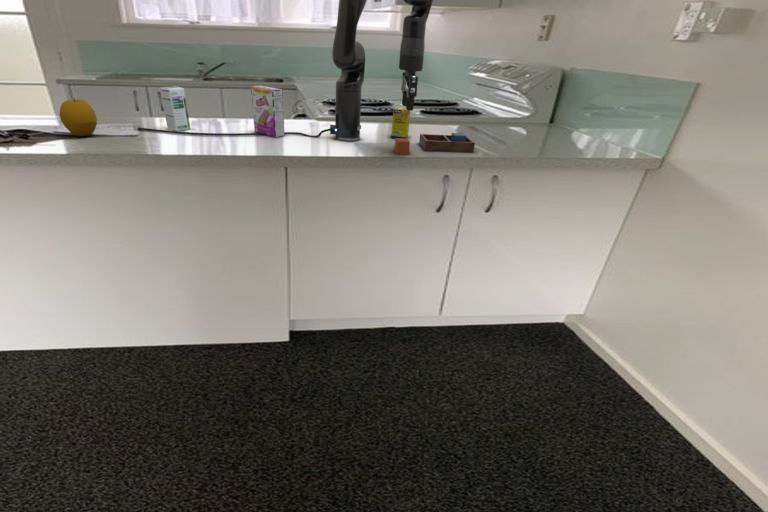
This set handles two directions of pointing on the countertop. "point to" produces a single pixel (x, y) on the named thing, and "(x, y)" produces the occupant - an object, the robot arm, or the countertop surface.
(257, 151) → the countertop surface
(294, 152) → the countertop surface
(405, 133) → the supplement box
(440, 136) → the sorting tray
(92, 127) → the apple
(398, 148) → the terracotta block
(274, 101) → the candy bar box
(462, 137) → the blue block
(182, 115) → the syrup box
